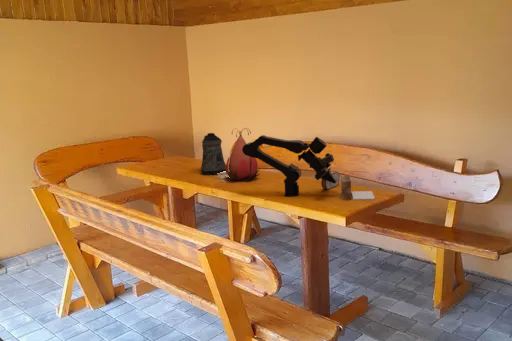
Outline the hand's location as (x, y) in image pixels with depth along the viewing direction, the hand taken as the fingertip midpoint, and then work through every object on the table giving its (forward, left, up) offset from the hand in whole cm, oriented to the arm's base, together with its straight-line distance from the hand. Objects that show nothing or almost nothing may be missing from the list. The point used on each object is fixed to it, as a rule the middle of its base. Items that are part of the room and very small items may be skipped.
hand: (335, 182), depth 235 cm
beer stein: (-76, +60, -7) cm, 97 cm away
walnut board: (+5, -1, -7) cm, 9 cm away
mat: (+13, -1, -7) cm, 15 cm away
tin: (-2, +17, -7) cm, 18 cm away
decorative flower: (-54, +40, -7) cm, 68 cm away
